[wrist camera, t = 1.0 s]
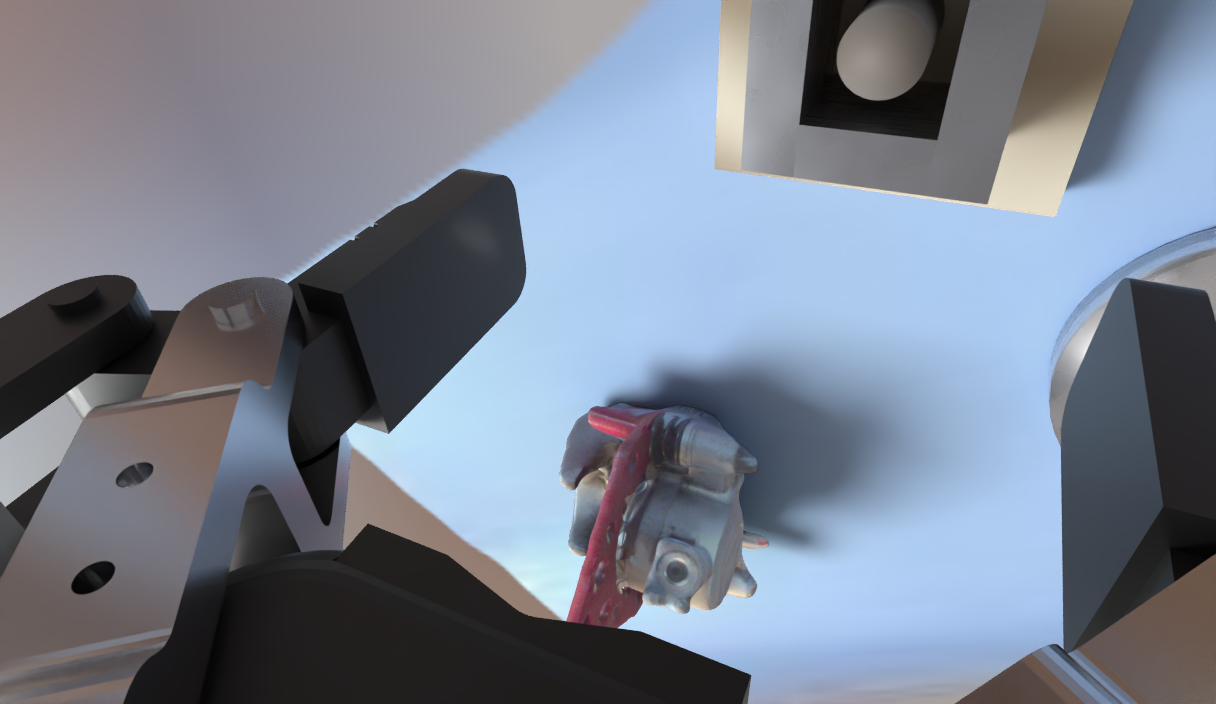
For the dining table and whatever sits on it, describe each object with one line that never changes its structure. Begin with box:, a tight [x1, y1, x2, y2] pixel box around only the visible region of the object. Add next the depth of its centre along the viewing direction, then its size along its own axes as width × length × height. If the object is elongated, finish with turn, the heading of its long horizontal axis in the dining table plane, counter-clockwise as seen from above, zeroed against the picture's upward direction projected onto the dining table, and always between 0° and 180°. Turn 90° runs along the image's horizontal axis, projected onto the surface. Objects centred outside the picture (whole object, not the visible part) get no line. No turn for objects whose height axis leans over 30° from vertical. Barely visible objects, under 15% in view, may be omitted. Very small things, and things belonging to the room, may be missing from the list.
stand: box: [715, 0, 1134, 217], centre depth 19 cm, size 10×10×5 cm
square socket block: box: [741, 0, 1048, 205], centre depth 18 cm, size 6×6×4 cm
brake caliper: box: [559, 403, 769, 628], centre depth 33 cm, size 11×11×12 cm
